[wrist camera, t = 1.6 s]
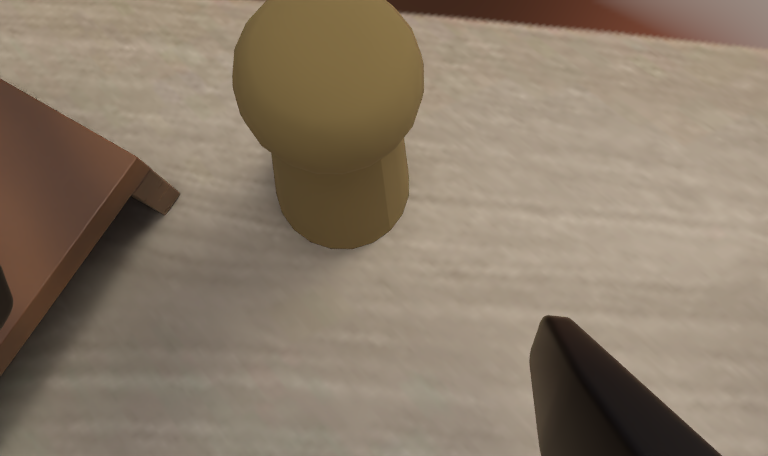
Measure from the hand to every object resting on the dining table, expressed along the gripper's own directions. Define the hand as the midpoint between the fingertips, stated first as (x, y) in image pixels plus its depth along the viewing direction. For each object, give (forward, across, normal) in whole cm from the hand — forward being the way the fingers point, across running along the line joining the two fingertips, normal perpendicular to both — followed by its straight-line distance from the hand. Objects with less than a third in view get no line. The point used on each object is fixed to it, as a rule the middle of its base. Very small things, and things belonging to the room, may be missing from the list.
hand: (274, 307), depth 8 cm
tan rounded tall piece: (+14, 0, +5) cm, 15 cm away
